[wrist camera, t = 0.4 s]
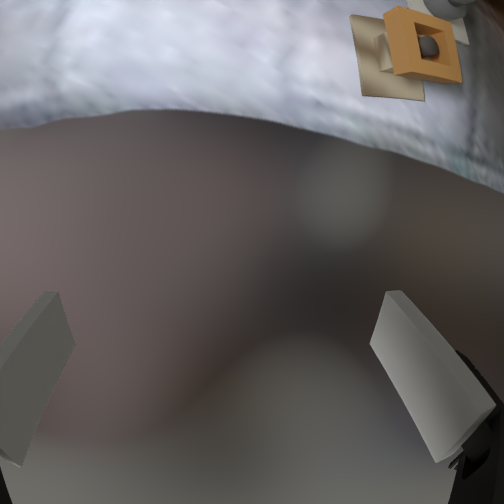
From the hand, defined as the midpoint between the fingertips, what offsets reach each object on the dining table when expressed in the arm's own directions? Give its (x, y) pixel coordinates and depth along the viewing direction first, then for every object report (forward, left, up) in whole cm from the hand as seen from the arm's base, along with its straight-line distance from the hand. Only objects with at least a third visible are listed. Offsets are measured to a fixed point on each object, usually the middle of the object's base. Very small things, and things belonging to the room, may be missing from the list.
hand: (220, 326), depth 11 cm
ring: (-16, +24, -20) cm, 36 cm away
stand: (-16, +24, -27) cm, 40 cm away
